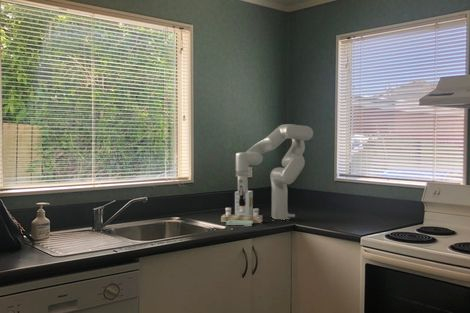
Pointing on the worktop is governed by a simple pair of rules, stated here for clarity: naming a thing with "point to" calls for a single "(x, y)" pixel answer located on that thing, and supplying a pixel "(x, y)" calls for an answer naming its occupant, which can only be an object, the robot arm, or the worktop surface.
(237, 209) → the supplement box
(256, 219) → the fuse block
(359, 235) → the worktop surface
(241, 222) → the tray
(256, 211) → the fuse
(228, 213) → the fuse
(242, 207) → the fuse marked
